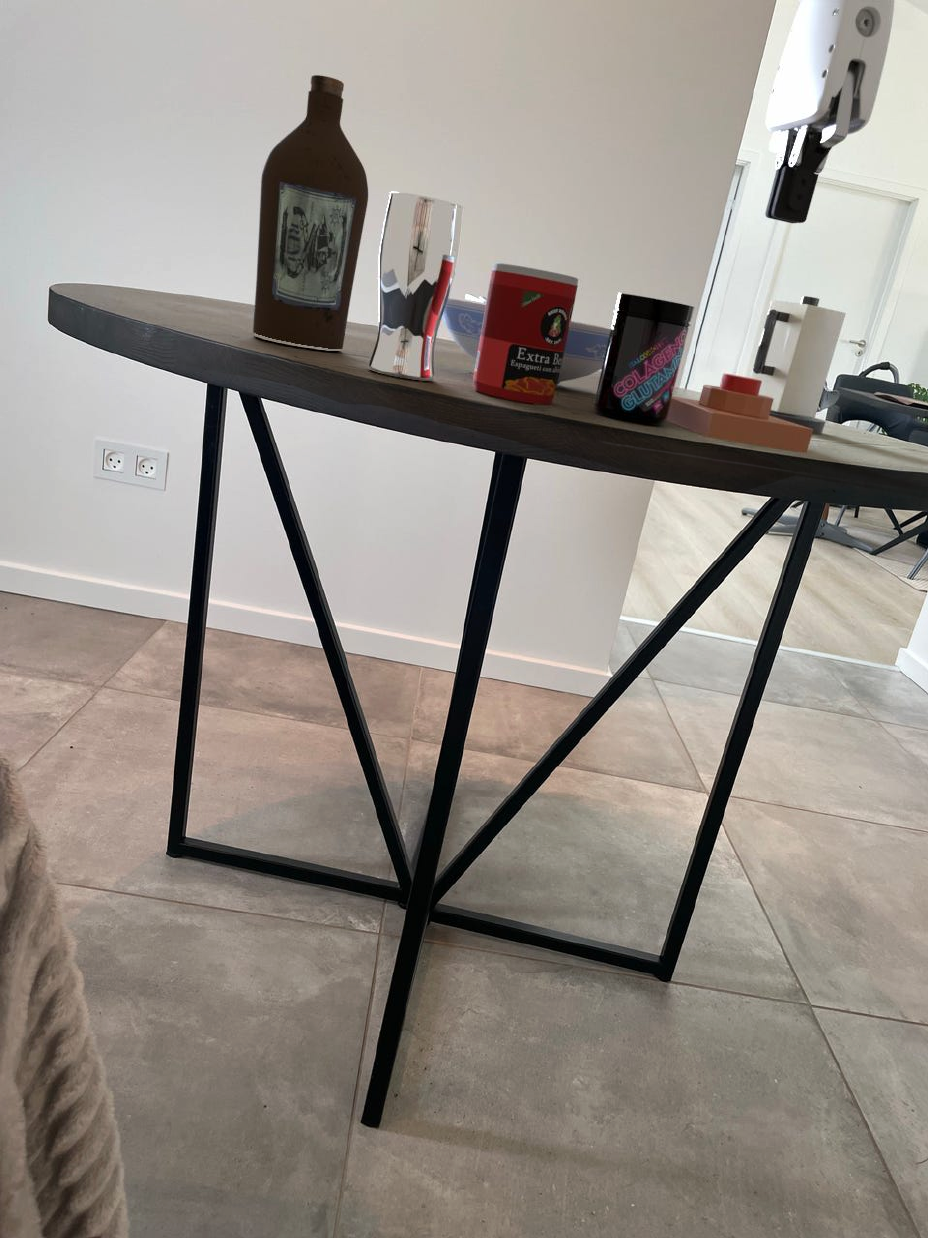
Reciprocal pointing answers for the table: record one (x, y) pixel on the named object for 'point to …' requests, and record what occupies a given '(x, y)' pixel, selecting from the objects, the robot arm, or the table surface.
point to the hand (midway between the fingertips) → (784, 219)
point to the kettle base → (801, 421)
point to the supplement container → (642, 359)
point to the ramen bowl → (580, 348)
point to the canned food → (524, 333)
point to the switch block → (738, 419)
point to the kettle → (796, 354)
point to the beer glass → (414, 282)
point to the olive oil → (310, 227)
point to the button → (740, 384)
